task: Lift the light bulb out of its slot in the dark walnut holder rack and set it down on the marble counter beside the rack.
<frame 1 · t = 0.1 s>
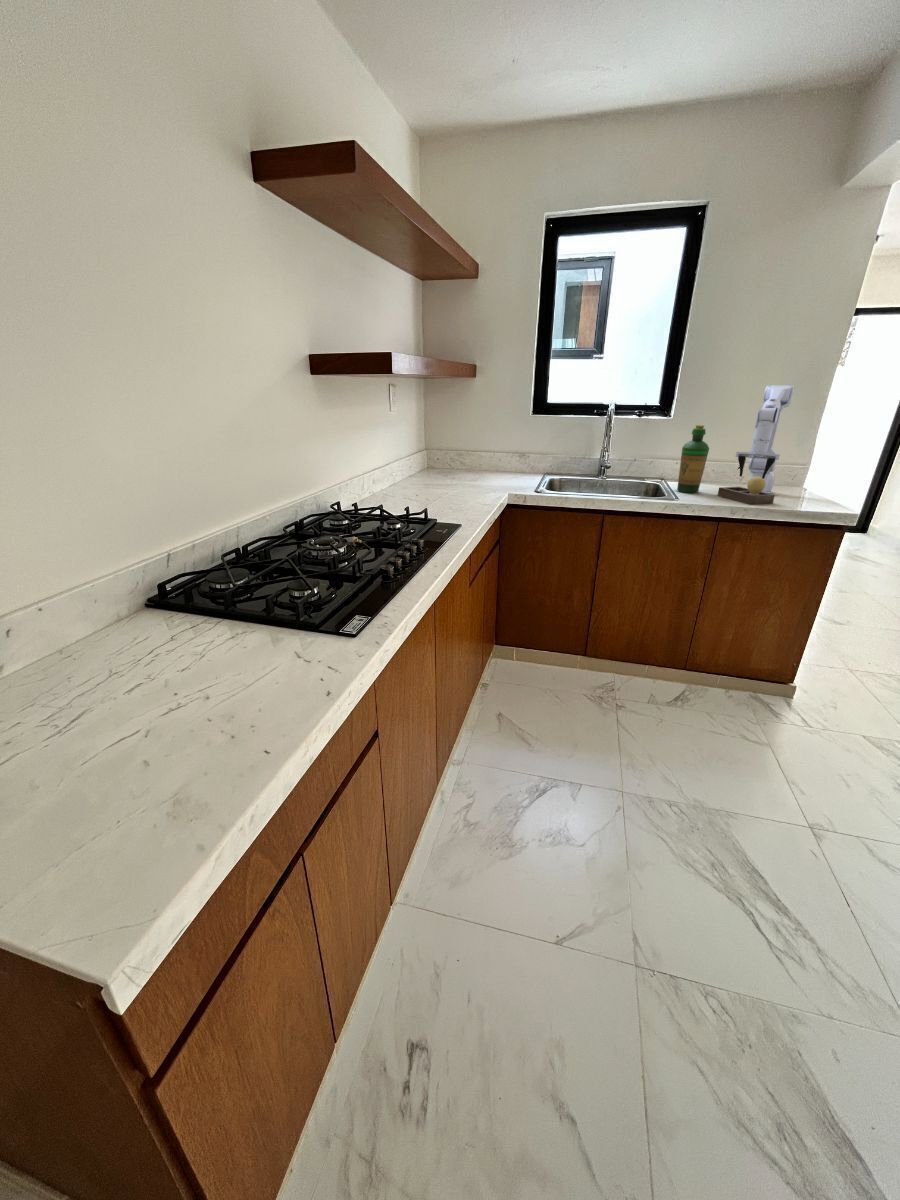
hand: (751, 477, 194), 11 cm above the counter, tool pointing down, fingers open, 7 cm apart
bottle: (687, 492, 223), on the counter
rack: (744, 499, 207), on the counter
light bulb: (752, 502, 204), resting in rack
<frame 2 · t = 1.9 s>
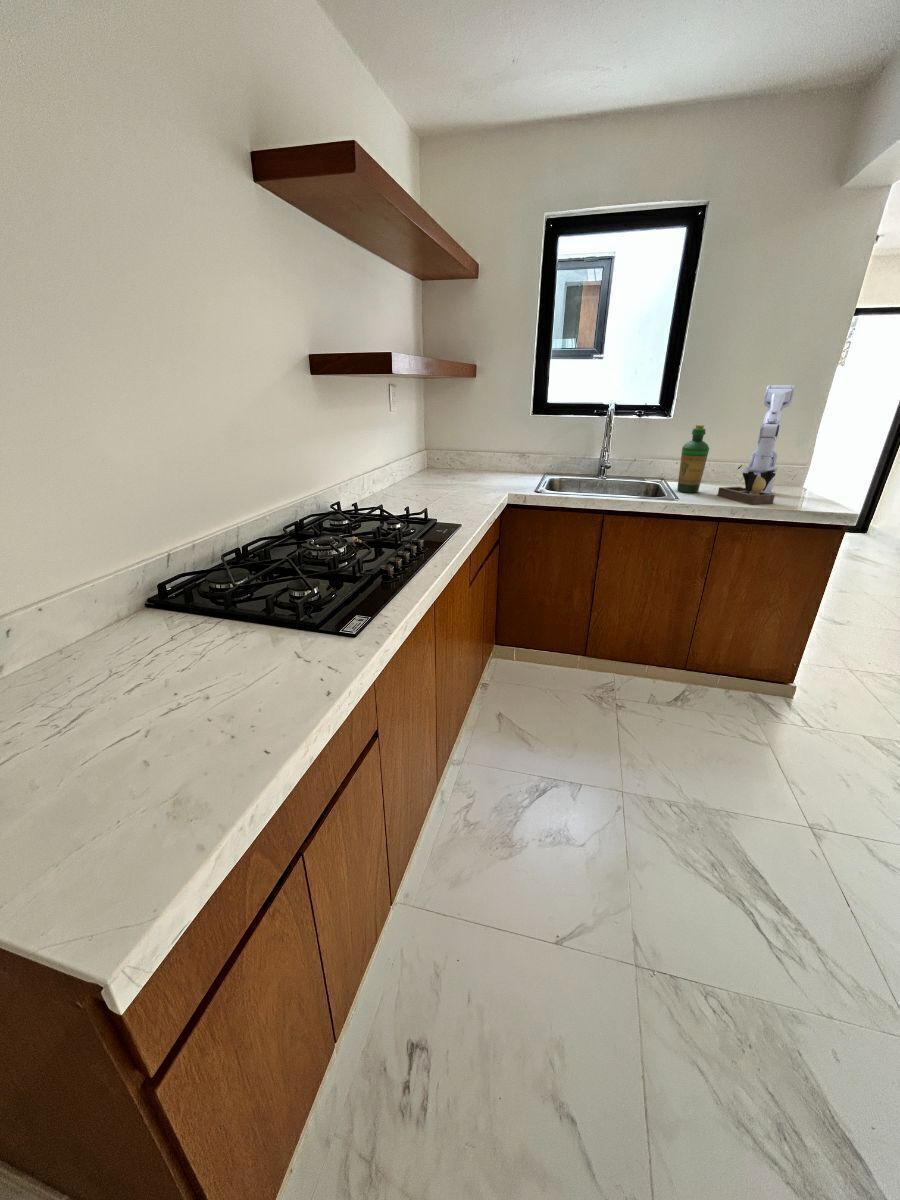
hand: (754, 490, 202), 4 cm above the counter, tool pointing down, fingers closed on light bulb, 6 cm apart
light bulb: (752, 502, 204), resting in rack, touching gripper
everything else where it was.
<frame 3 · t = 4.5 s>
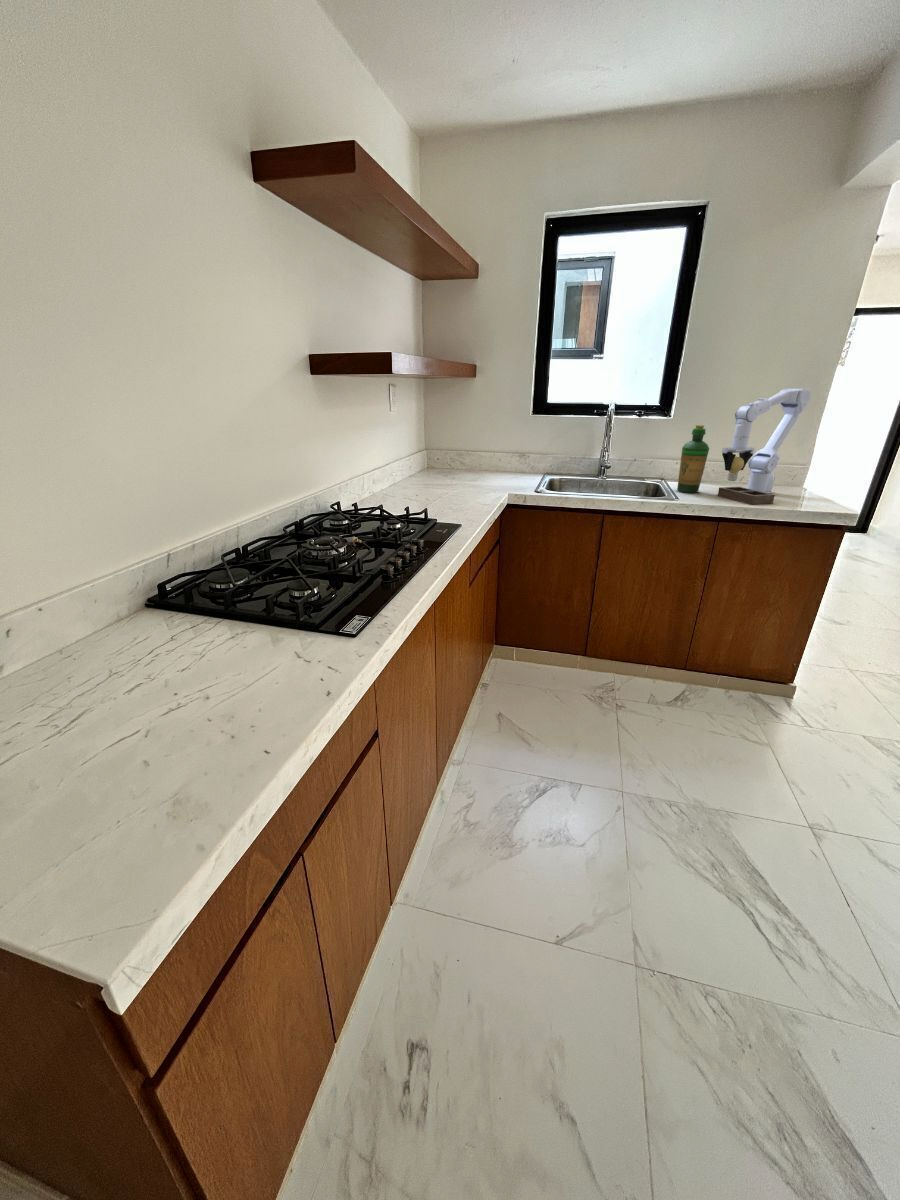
hand: (733, 470, 213), 10 cm above the counter, tool pointing down, fingers closed on light bulb, 6 cm apart
light bulb: (731, 481, 215), point 6 cm above the counter, touching gripper
everything else where it was.
when the fingers open (4 cm above the counter, at t = 7.0 s): light bulb stays where it is, on the counter.
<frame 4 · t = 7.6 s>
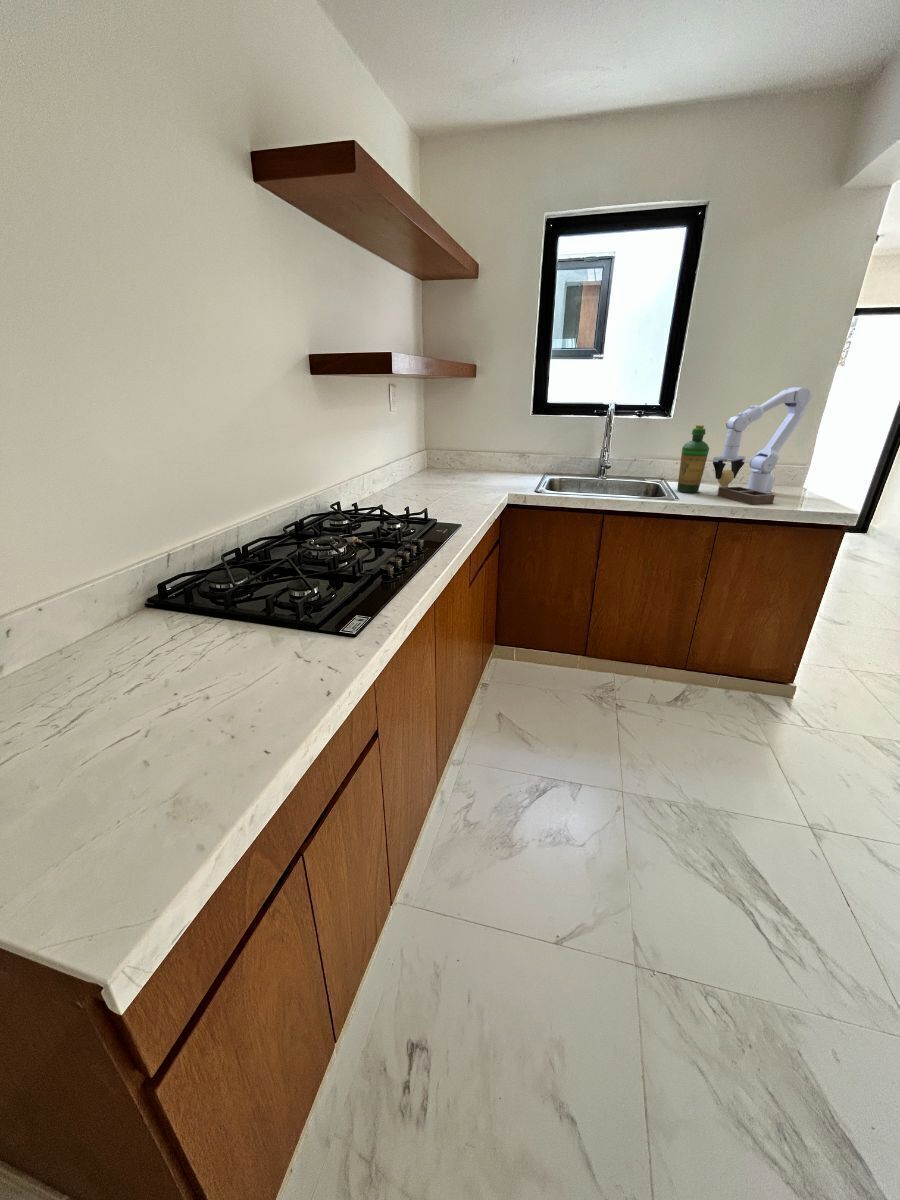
hand: (725, 478, 219), 6 cm above the counter, tool pointing down, fingers open, 7 cm apart
light bulb: (721, 493, 221), on the counter
everything else where it was.
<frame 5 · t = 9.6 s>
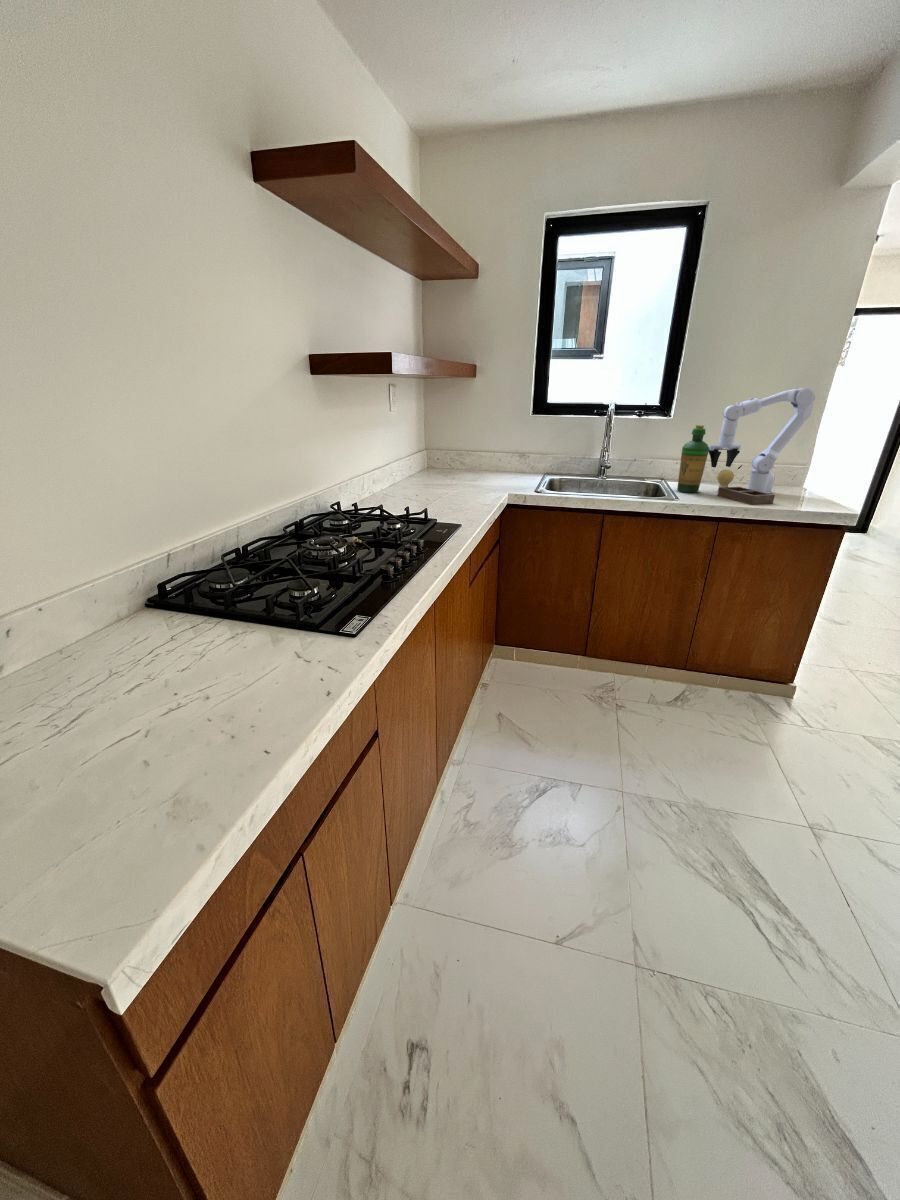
hand: (720, 466, 222), 10 cm above the counter, tool pointing down, fingers open, 7 cm apart
nothing on the counter moved.
at the end: light bulb inside the target area (0.1 cm from its centre), on the counter; the gripper is holding nothing; light bulb moved 19.5 cm from its start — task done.
